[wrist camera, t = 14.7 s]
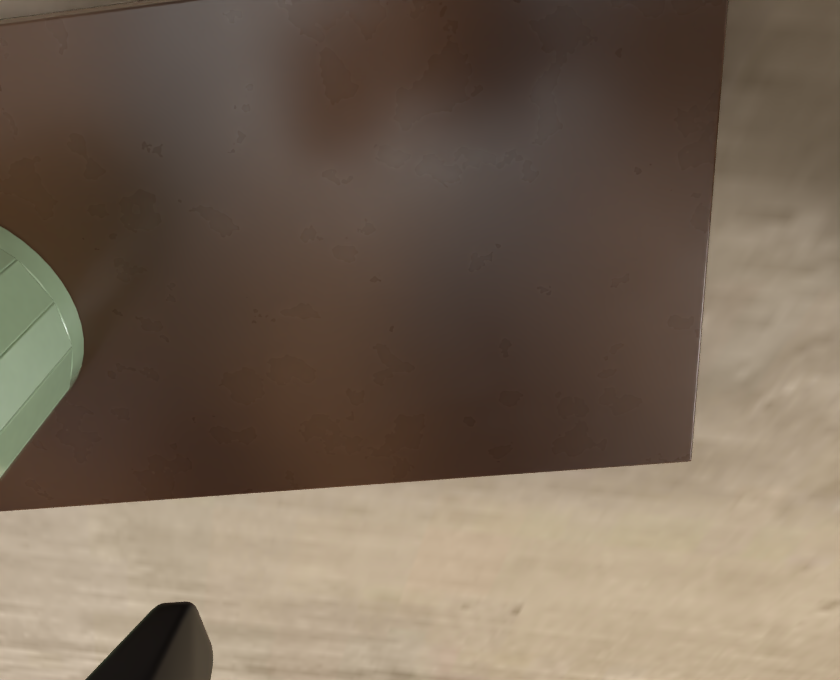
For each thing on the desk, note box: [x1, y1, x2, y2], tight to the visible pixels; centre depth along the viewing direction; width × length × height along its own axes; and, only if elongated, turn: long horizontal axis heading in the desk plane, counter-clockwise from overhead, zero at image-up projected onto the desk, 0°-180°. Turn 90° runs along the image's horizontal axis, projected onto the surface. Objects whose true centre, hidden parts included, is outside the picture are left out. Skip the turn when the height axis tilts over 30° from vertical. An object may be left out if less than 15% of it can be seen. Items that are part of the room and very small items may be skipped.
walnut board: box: [0, 0, 728, 511], centre depth 20 cm, size 26×14×2 cm, turn 97°
